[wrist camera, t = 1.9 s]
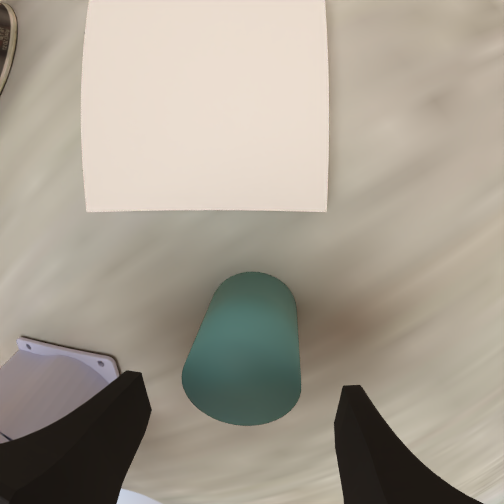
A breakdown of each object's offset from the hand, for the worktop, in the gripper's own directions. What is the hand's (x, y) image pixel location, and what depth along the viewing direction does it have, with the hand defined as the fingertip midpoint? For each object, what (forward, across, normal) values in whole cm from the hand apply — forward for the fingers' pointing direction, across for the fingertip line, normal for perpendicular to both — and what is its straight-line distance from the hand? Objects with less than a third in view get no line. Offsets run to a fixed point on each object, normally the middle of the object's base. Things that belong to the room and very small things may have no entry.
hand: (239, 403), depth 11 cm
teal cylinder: (+7, 0, 0) cm, 7 cm away
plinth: (+7, +2, -11) cm, 13 cm away
